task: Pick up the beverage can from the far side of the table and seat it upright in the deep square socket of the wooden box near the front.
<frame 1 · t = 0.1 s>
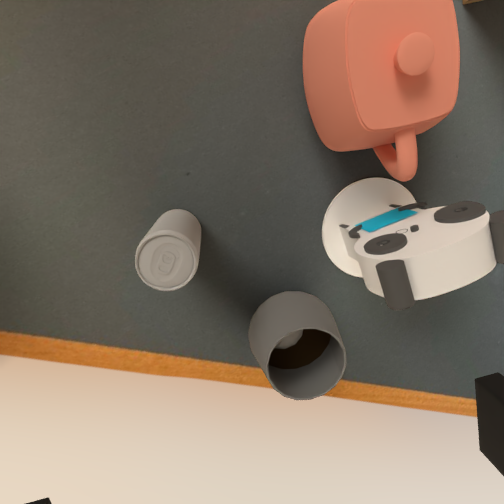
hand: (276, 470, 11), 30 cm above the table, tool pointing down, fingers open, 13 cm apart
beverage can: (178, 230, 39), on the table
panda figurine: (372, 227, 42), on the table
cup: (284, 317, 43), on the table
teapot: (351, 76, 37), on the table
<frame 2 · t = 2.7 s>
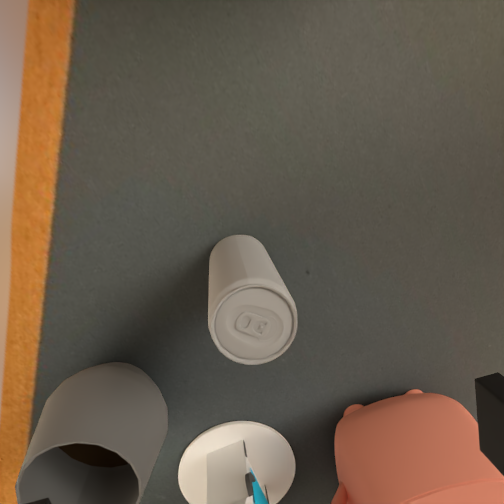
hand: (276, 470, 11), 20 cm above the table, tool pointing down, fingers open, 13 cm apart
beverage can: (238, 260, 31), on the table
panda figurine: (238, 471, 36), on the table
cup: (119, 390, 33), on the table
teapot: (393, 428, 37), on the table
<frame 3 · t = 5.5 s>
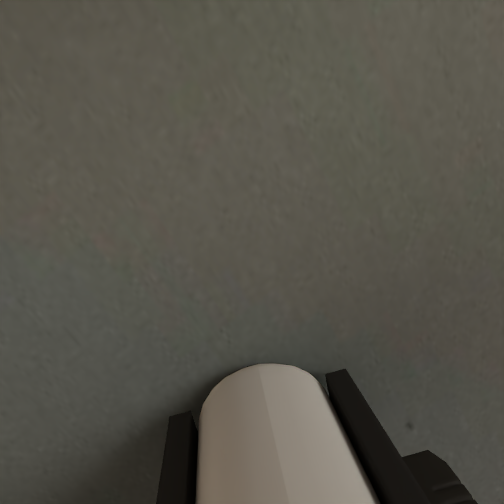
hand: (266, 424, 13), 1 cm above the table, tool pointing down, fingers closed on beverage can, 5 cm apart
beverage can: (263, 407, 14), on the table, touching gripper
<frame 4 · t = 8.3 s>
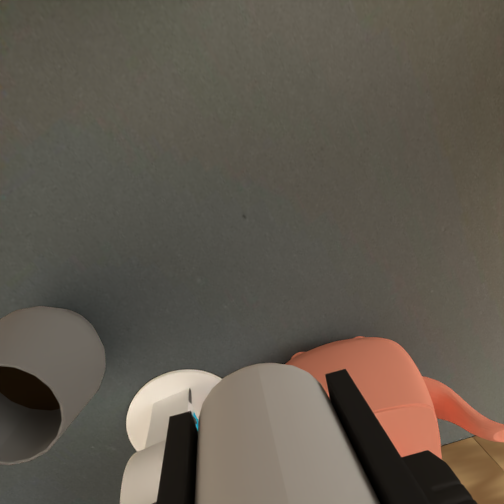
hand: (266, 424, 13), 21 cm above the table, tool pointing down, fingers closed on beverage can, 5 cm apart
beverage can: (262, 407, 14), point 20 cm above the table, touching gripper
wooden box: (451, 484, 43), on the table
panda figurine: (188, 421, 37), on the table
cup: (62, 338, 33), on the table
teapot: (341, 376, 37), on the table
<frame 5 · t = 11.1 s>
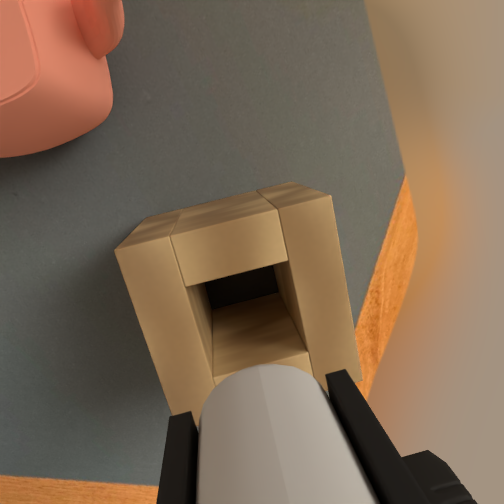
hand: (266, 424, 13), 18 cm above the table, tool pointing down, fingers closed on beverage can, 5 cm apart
beverage can: (263, 408, 14), point 18 cm above the table, touching gripper
wooden box: (237, 268, 31), on the table
teapot: (34, 64, 26), on the table
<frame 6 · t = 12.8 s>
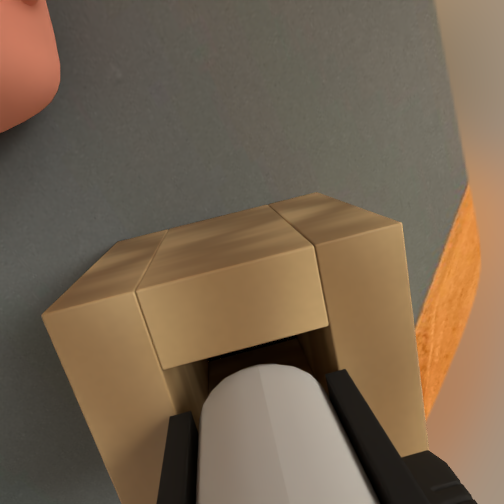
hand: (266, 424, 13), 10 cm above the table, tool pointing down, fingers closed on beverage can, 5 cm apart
beverage can: (263, 408, 14), point 9 cm above the table, touching gripper
wooden box: (242, 308, 23), on the table
when the fingers open (11 cm above the table, at t = 16.7 s): beverage can drops 11 cm, resting in wooden box.
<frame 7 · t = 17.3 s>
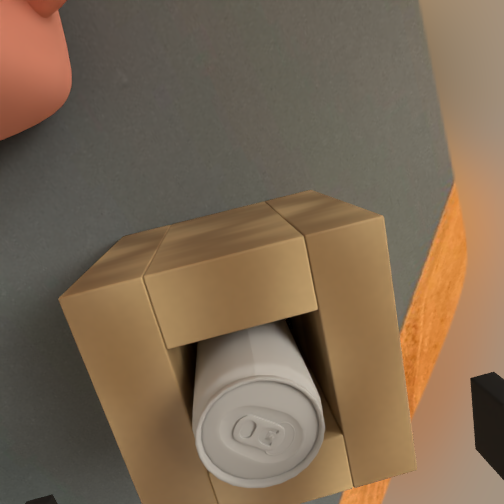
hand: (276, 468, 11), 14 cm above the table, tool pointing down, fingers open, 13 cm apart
beverage can: (236, 300, 24), resting in wooden box
wooden box: (240, 299, 24), on the table
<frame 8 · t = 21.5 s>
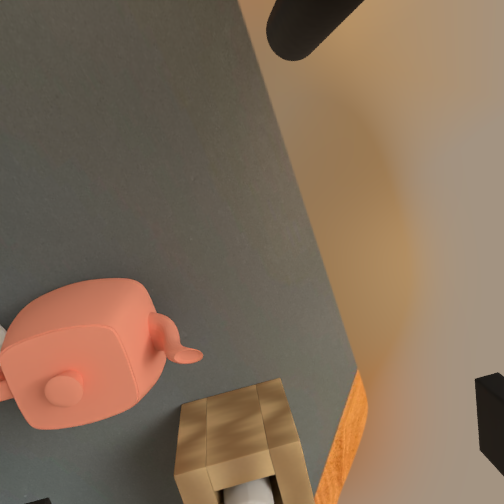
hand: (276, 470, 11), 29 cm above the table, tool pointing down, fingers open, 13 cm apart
beverage can: (240, 431, 45), resting in wooden box
wooden box: (242, 431, 45), on the table
teapot: (113, 320, 40), on the table
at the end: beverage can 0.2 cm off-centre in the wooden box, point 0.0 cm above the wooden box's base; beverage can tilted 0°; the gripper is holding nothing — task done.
